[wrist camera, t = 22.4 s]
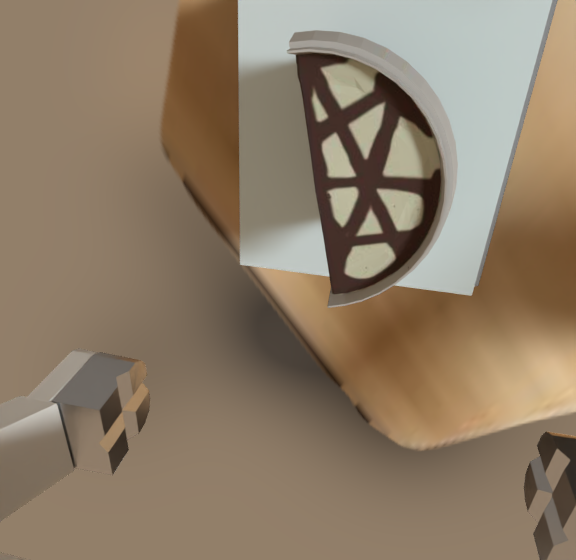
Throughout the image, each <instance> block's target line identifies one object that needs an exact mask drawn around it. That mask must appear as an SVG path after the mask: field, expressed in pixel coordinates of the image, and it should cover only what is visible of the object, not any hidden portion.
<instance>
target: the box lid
mask: <svg viewBox="0 0 576 560" xmlns="http://www.w3.org/2000/svg"><path fill="white" fill-rule="evenodd" d="M551 4H552V0H238V70H239V196H240V265H247V266H255V267H262V268H269V269H277V270H284V271H292V272H299V273H306V274H314V275H321V276H329V270H328V264H327V257H326V251H325V244H324V238H323V232H322V226H321V220H320V214H319V209H318V203H317V198H316V193H315V185H314V178H313V170H312V162H311V154H310V147H309V140H308V133H307V126H306V119H305V112H304V105H303V98H302V92H301V87H300V82H299V79H298V75H297V64H296V55H294V54H288V53H287V50H289V49H290V47H289V41H290V39H291V37H292V36H293V34H294V32H304V31H313V30H320V31H334V32H343V33H347V34H351V35H355V36H359V37H363V38H366V39H368V40H370V41H372V42H375V43H377V44H379V45H381V46H384V47H386V48H388V49H389V50H391V51H392V52H394V53H395V54H397V55H398V56H399V57H401V58H402V59H404V60H405V61H407V62H408V63H409V64H410V65H411V66H412V67H413V68H414V69H415V70H416V71H417V72H418V73H419V74H420V75H421V76H422V77H423V78H424V79H425V80H426V81H427V83H428V84H429V85H430V87H431V88H432V90H433V91H434V92H435V94H436V95H437V96H438V98H439V100H440V102H441V104H442V106H443V108H444V110H445V112H446V114H447V116H448V118H449V121H450V124H451V128H452V131H453V135H454V139H455V142H456V152H457V162H458V168H457V183H456V190H455V194H454V198H453V202H452V206H451V209H450V212H449V214H448V217H447V219H446V222H445V224H444V226H443V229H442V231H441V233H440V236H439V238H438V239H437V241H436V242H435V244H434V246H433V247H432V249H431V250H430V252H429V253H428V255H427V256H426V257H425V258H424V259H423V260H422V261H421V263H420V264H419V265H418V266H417V267H416V268H415V269H414V270H413V271H412V272H411V273H409V274H408V275H407V276H406V277H405V278H403V279H402V280H401V281H400V282H398V283H397V284H395V285H396V286H403V287H410V288H418V289H425V290H433V291H440V292H447V293H455V294H462V295H470V296H472V293H473V289H474V286H475V282H476V278H477V275H478V271H479V267H480V264H481V260H482V256H483V253H484V249H485V245H486V242H487V238H488V235H489V231H490V227H491V224H492V220H493V216H494V213H495V209H496V205H497V202H498V198H499V194H500V191H501V187H502V183H503V180H504V176H505V172H506V169H507V165H508V161H509V158H510V154H511V150H512V147H513V143H514V139H515V136H516V132H517V128H518V125H519V121H520V117H521V114H522V110H523V106H524V103H525V99H526V95H527V92H528V88H529V84H530V81H531V77H532V74H533V70H534V66H535V63H536V59H537V55H538V52H539V48H540V44H541V41H542V37H543V33H544V30H545V26H546V22H547V19H548V15H549V11H550V8H551ZM329 277H330V276H329Z"/></svg>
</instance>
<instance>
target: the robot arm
mask: <svg viewBox="0 0 576 560" xmlns="http://www.w3.org/2000/svg"><path fill="white" fill-rule="evenodd" d="M146 376H147V372H146V366H145V363H144V362H142V361H141V360H136V359H131V358H126V357H122V356H117V355H111V354H106V353H102V352H94V351H89V350H85V349H80V348H78V349H76V350H73V351H71V352H70V353H69V354H68V355H67V356H66V357H65V358H64V359H63V360H62V361H61V362H60V364H59V365H58V366H57V367H56V368H55V369H54V370H53V371H52V372H51V373H50V374H49V375H48V376H47V377H46V378H45V379H44V380H43V381H42V382H41V383H40V384H39V385H38V386H37V387H36V388H35V389H34V390H33V391H32V392H31V393H30V394H29V395H28V396H27V397H22V396H19V397H17V398H15V399H12V400H10V401H8V402H5V403H3V404H0V521H2V520H3V519H5V518H6V517H8V516H9V515H11V514H12V513H13V512H15V511H16V510H18V509H19V508H21V507H22V506H24V505H25V504H27V503H28V502H29V501H31V500H32V499H34V498H35V497H37V496H38V495H40V494H41V493H43V492H44V491H45V490H47V489H48V488H50V487H51V486H52V485H54V484H55V483H57V482H58V481H60V480H61V479H63V478H64V477H66V476H67V475H69V474H70V473H71V472H73V471H74V468H76V469H82V470H87V471H92V472H97V473H103V474H108V475H113V474H114V472H115V471H116V469H117V467H118V466H119V464H120V463H121V461H122V460H123V458H124V456H125V455H126V453H127V452H128V450H129V449H128V443H127V440H128V439H130V438H132V437H134V436H135V435H137V434H139V432H140V431H141V429H142V427H143V425H144V424H145V421H146V418H147V415H148V412H149V407H150V394H149V390H148V389H147V388H146V386H145V385H144V384H143V383H142V382H143V380H144V379H145V378H146ZM537 447H538V451H539V454H540V456H539V457H538V458H536V459H534V460H532V461H530V463H529V466H528V468H527V471H526V474H525V483H524V494H525V502H526V506H527V510H528V512H529V514H530V515H531V516H532V517H533V518H534V519H535V520H536V521H537V522H538V525H537V527H536V529H535V531H534V533H533V535H534V539H535V543H536V547H537V551H538V554H539V558H540V560H576V436H571V435H565V434H558V433H552V432H545V433H544V434H543V435H542V436H541V438H540V440H539V442H538V444H537ZM0 560H29V559H25V558H21V557H17V556H13V555H9V554H5V553H2V552H0Z"/></svg>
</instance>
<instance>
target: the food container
mask: <svg viewBox="0 0 576 560" xmlns="http://www.w3.org/2000/svg"><path fill="white" fill-rule="evenodd" d="M289 47H290V49H289V50H287V53H288V54H294V55H296V64H297V75H298V79H299V82H300V87H301V92H302V98H303V105H304V112H305V119H306V126H307V133H308V140H309V147H310V154H311V162H312V170H313V178H314V185H315V193H316V198H317V203H318V209H319V214H320V220H321V226H322V232H323V238H324V244H325V251H326V257H327V264H328V270H329V276H330V283H331V291H330V296H329V302H328V308H330V307H339V306H346V305H350V304H354V303H357V302H361V301H364V300H367V299H369V298H371V297H374V296H376V295H379V294H381V293H382V292H384V291H386V290H387V289H389V288H390V287H392V286H394V285H395V284H397V283H398V282H400V281H401V280H402V279H403V278H405V277H406V276H407V275H408V274H409V273H411V272H412V271H413V270H414V269H415V268H416V267H417V266H418V265H419V264H420V263H421V261H422V260H423V259H424V258H425V257H426V256H427V255H428V253H429V252H430V250H431V249H432V247H433V246H434V244H435V242H436V241H437V239H438V238H439V236H440V233H441V231H442V229H443V226H444V224H445V222H446V219H447V217H448V214H449V212H450V209H451V206H452V202H453V198H454V194H455V190H456V183H457V168H458V162H457V152H456V142H455V139H454V135H453V131H452V128H451V124H450V121H449V118H448V116H447V114H446V112H445V110H444V108H443V106H442V104H441V102H440V100H439V98H438V96H437V95H436V94H435V92H434V91H433V90H432V88H431V87H430V85H429V84H428V83H427V81H426V80H425V79H424V78H423V77H422V76H421V75H420V74H419V73H418V72H417V71H416V70H415V69H414V68H413V67H412V66H411V65H410V64H409V63H408V62H407V61H405V60H404V59H402V58H401V57H399V56H398V55H397V54H395V53H394V52H392V51H391V50H389V49H388V48H386V47H384V46H381V45H379V44H377V43H375V42H372V41H370V40H368V39H366V38H363V37H359V36H355V35H351V34H347V33H343V32H334V31H320V30H313V31H304V32H294V34H293V36H292V37H291V39H290V41H289Z"/></svg>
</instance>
